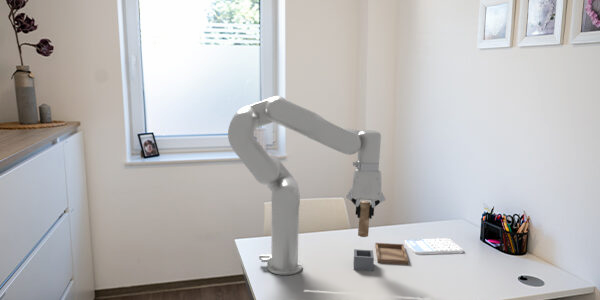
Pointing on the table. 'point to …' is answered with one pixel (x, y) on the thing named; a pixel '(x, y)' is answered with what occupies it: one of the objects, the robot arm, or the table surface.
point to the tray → (391, 253)
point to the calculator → (433, 246)
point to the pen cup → (363, 260)
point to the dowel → (364, 219)
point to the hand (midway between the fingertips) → (364, 216)
